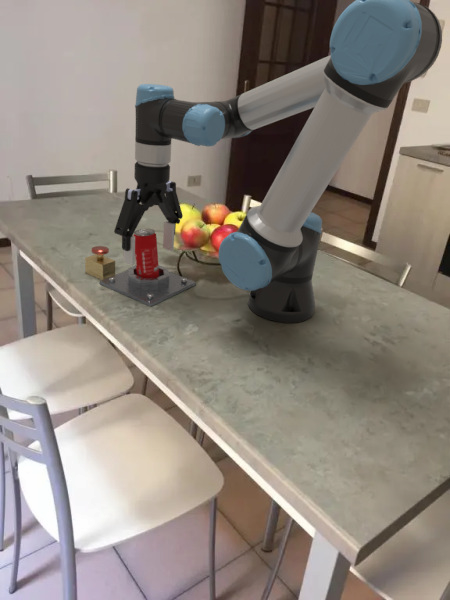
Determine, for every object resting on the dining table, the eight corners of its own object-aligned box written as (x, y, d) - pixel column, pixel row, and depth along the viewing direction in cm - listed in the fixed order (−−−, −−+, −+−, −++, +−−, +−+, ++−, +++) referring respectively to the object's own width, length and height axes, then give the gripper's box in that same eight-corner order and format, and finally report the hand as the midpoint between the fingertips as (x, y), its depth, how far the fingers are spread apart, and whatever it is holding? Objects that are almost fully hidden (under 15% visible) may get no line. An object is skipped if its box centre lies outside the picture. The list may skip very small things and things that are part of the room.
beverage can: (148, 286, 120) (144, 237, 114) (132, 281, 123) (128, 232, 117) (164, 279, 123) (160, 231, 118) (148, 274, 126) (144, 227, 121)
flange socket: (195, 285, 126) (196, 272, 124) (150, 306, 114) (151, 293, 112) (146, 265, 133) (146, 253, 132) (99, 283, 121) (99, 270, 120)
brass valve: (115, 275, 126) (115, 250, 123) (102, 280, 123) (102, 254, 120) (98, 268, 129) (97, 243, 126) (85, 273, 126) (84, 247, 123)
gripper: (176, 153, 122) (171, 239, 131) (96, 166, 103) (97, 264, 113) (201, 159, 118) (194, 247, 128) (123, 173, 100) (122, 275, 109)
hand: (149, 255), depth 120 cm, fingers open, 13 cm apart
